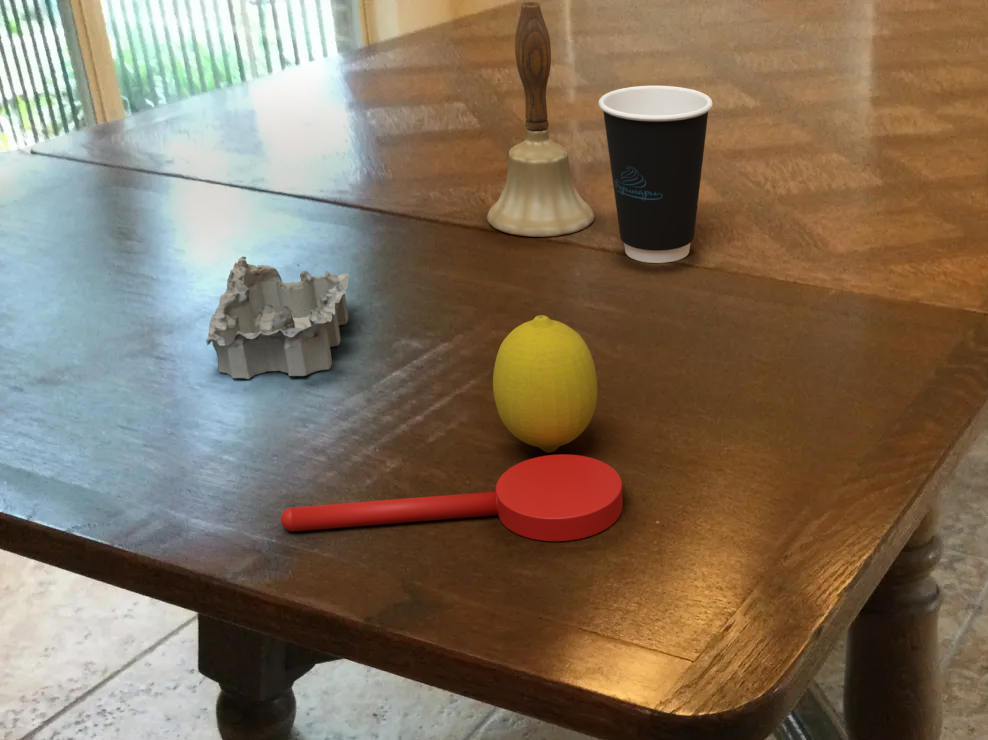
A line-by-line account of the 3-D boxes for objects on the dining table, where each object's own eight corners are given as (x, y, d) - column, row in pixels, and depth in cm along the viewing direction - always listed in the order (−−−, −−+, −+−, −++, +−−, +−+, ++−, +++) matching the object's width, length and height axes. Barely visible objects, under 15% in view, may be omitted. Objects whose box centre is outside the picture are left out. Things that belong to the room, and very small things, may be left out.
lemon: (583, 420, 77) (576, 290, 73) (612, 466, 73) (608, 330, 68) (488, 436, 75) (476, 303, 71) (513, 484, 71) (501, 345, 67)
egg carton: (249, 311, 89) (238, 252, 87) (363, 311, 90) (355, 253, 87) (201, 382, 80) (187, 318, 78) (327, 382, 81) (317, 319, 78)
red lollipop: (276, 566, 64) (272, 541, 64) (288, 497, 70) (284, 474, 69) (630, 536, 67) (629, 512, 66) (615, 472, 72) (614, 449, 72)
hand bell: (615, 214, 106) (610, 0, 97) (548, 245, 100) (536, 21, 91) (534, 194, 110) (521, -14, 101) (465, 223, 104) (445, 5, 95)
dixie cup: (603, 272, 96) (598, 116, 90) (603, 232, 103) (598, 85, 97) (714, 270, 97) (716, 115, 90) (707, 231, 103) (708, 84, 97)
